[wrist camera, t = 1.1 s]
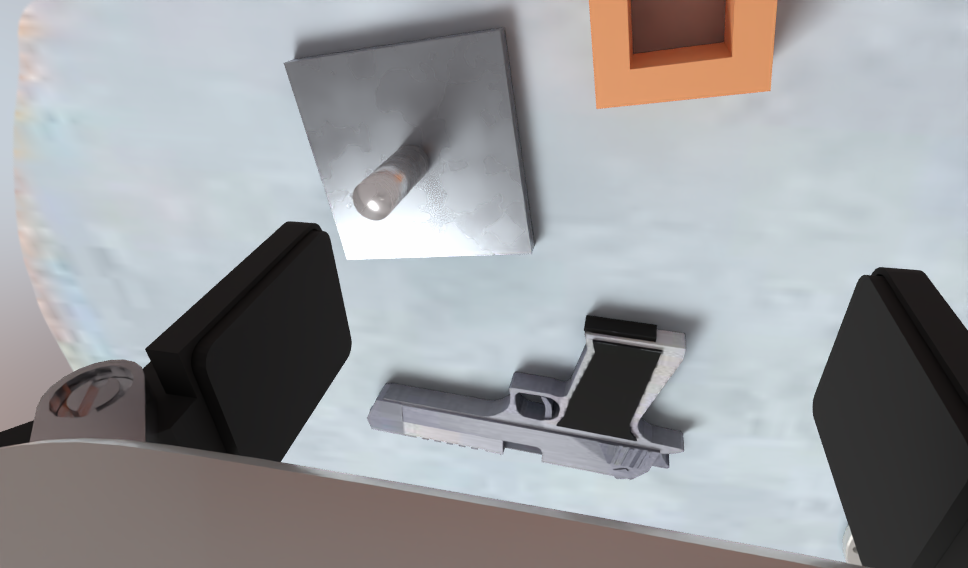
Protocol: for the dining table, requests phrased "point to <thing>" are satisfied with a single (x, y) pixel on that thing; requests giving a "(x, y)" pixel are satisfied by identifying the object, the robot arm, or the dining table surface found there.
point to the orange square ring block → (681, 57)
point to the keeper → (418, 146)
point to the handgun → (560, 406)
